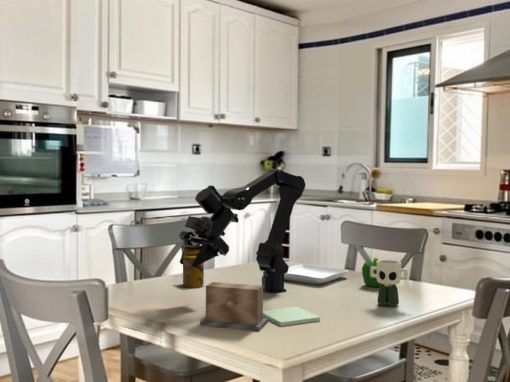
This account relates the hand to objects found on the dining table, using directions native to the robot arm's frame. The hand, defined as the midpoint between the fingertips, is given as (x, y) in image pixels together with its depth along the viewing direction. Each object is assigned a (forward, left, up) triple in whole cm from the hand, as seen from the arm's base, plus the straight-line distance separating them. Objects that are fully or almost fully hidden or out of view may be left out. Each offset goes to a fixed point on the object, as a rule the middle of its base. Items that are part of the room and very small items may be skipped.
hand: (186, 264), depth 165 cm
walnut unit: (-5, +22, -12) cm, 25 cm away
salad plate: (-55, -20, -13) cm, 60 cm away
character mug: (-55, +23, -12) cm, 61 cm away
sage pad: (-21, +23, -12) cm, 33 cm away
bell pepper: (-68, 0, -12) cm, 69 cm away
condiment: (-1, -1, -7) cm, 7 cm away
